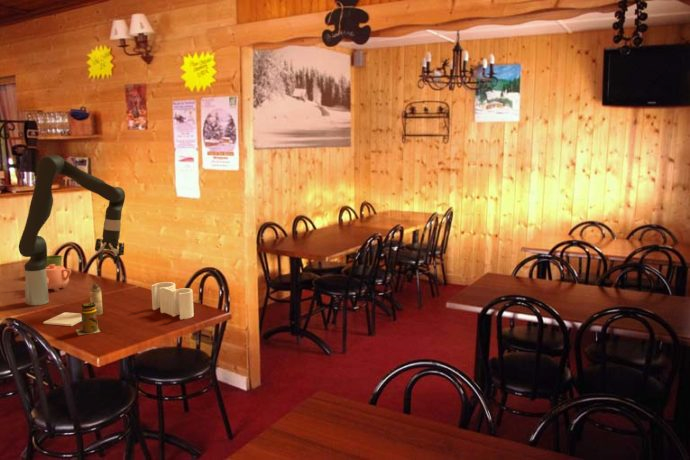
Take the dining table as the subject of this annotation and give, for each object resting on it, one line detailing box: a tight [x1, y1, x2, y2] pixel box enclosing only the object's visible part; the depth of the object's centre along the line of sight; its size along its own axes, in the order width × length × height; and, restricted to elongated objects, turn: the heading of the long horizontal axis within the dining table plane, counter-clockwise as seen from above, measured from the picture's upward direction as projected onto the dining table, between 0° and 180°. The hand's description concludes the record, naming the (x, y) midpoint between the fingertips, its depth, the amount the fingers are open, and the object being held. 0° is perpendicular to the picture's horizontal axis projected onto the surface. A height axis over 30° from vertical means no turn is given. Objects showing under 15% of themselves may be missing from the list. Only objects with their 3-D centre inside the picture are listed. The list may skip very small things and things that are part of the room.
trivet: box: [42, 311, 82, 327], centre depth 256 cm, size 14×14×1 cm
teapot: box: [46, 264, 72, 292], centre depth 305 cm, size 16×17×14 cm
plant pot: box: [46, 254, 63, 267], centre depth 332 cm, size 12×12×11 cm
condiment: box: [75, 302, 101, 336], centre depth 241 cm, size 7×8×12 cm
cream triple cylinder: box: [150, 281, 195, 320], centre depth 267 cm, size 25×10×12 cm, turn 49°
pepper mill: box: [89, 283, 104, 316], centre depth 264 cm, size 5×5×14 cm
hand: (108, 262), depth 272 cm, fingers open, 8 cm apart
